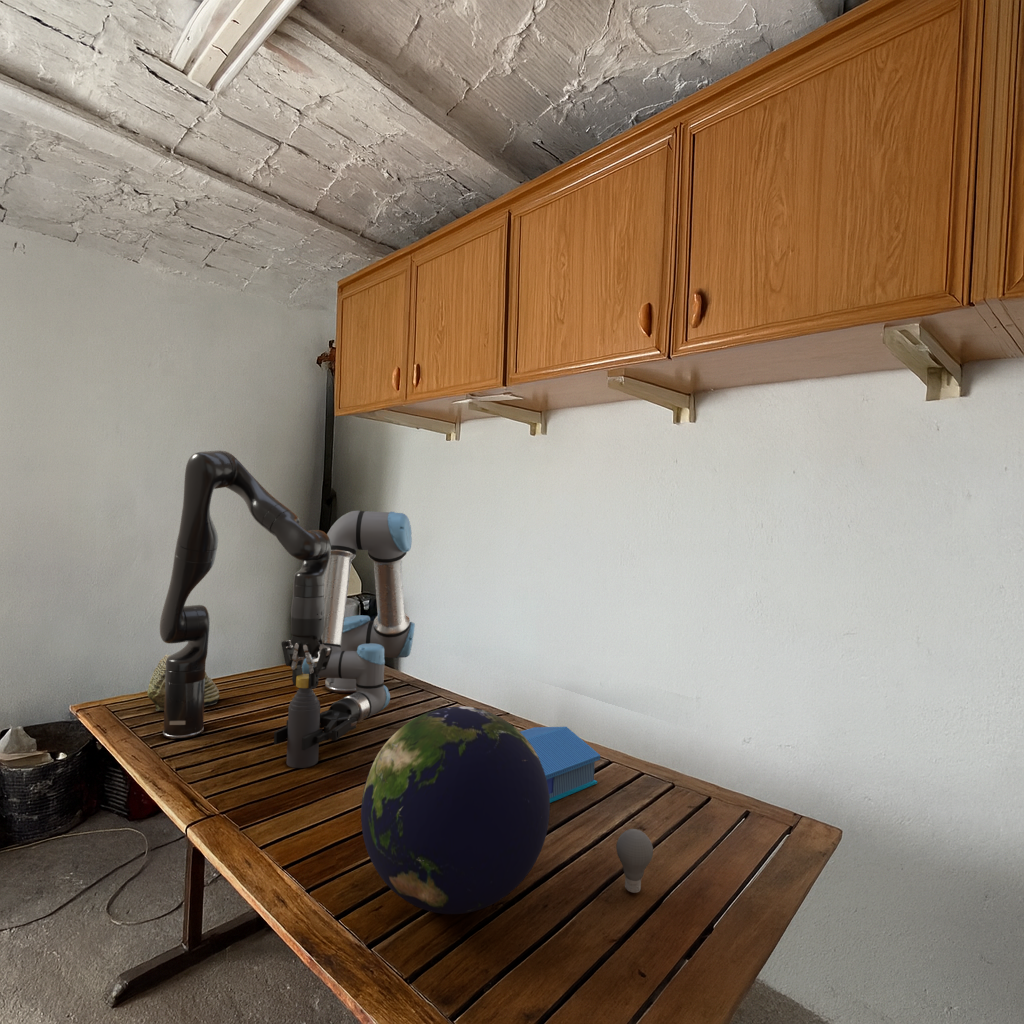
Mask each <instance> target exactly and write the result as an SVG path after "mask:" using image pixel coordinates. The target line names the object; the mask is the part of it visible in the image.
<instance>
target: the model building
mask: <svg viewBox="0 0 1024 1024" xmlns="http://www.w3.org/2000/svg"><path fill="white" fill-rule="evenodd" d="M519 732H520V733H521V734H522V735H523V736H524V737H525V738H526V739H527V740H528V742H529V743H530V744H531V745H532V747H533V749H534V750H535V752H536V754H537V755H538V757H539V759H540V762H541V765H542V767H543V770H544V773H545V776H546V780H547V784H548V789H549V798H550V804H551V803H554V802H556V801H558V800H561V799H563V798H566V797H568V796H572V794H576V793H578V792H581V791H583V790H585V789H587V788H590V787H592V786H594V785H597V784H598V781H597V780H596V779H595V763H596V762H598V761H600V760H601V754H600V753H599V752H598V751H596V750H595V749H594V748H593V747H591V746H590V745H589V744H588V743H587V742H586V741H584V740H583V739H582V738H580V737H579V736H578V735H577V734H576V733H574V731H572V730H571V729H570V728H569V727H568V726H536V727H535V726H534V727H531V728H528V729H524V730H521V731H519Z"/></svg>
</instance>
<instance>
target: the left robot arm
mask: <svg viewBox="0 0 1024 1024" xmlns="http://www.w3.org/2000/svg"><path fill="white" fill-rule="evenodd" d="M184 470H185V472H184V484H183V485H184V486H183V500H182V509H181V516H180V523H179V530H178V535H177V539H176V544H175V550H174V556H173V563H172V570H171V576H170V581H169V586H168V589H167V594H166V596H165V600H164V603H163V608H162V611H161V615H160V619H159V620H160V621H159V636H160V638H161V641H163V642H164V644H180V643H181V644H182V643H186V644H185V646H184V647H183V648H181V649H180V650H178V651H176V652H174V653H172V654H170V655H171V656H169V657H168V658H167V660H166V674H165V705H164V710H163V731H162V737H164V738H166V739H169V740H185V739H190V738H191V739H192V738H194V737H197V736H199V735H202V734H203V732H204V730H205V729H204V726H205V725H204V722H205V721H204V718H205V706H204V693H205V672H206V664H207V663H206V662H207V658H208V650H209V649H208V648H209V638H210V637H209V636H210V629H211V627H210V626H211V625H210V624H211V621H210V613H209V610H208V608H207V607H206V606H205V605H203V604H192V605H191V604H190V605H186V602H187V600H188V598H189V596H190V594H191V593H192V591H193V590H194V589H195V588H196V587H197V585H199V583H200V582H202V580H204V578H205V577H206V575H208V573H209V572H210V571H211V570H212V568H213V566H214V564H215V561H216V556H217V551H218V546H219V545H218V544H219V536H218V532H217V529H216V526H215V524H214V521H213V519H212V515H211V502H212V498H213V497H212V496H213V493H214V491H215V490H217V489H224V488H227V490H230V491H232V492H233V493H235V494H236V495H238V496H239V497H240V498H242V500H243V501H244V503H245V504H246V506H247V509H248V511H249V513H250V515H251V516H252V518H253V520H254V521H256V522H257V523H258V524H259V525H260V526H261V527H262V528H263V529H265V530H266V531H267V532H269V533H270V534H271V535H272V536H273V537H275V538H276V540H277V541H278V542H279V544H280V545H281V546H282V548H283V549H284V550H285V551H286V552H287V553H288V554H289V555H290V556H291V557H292V558H295V559H296V560H298V561H302V564H301V567H300V569H299V570H298V571H296V572H295V573H294V576H293V583H292V585H293V588H292V601H291V607H290V609H291V610H290V635H291V639H287V640H283V641H281V648H282V653H283V658H284V663H285V666H287V667H289V668H291V670H292V672H291V673H292V677H291V681H292V684H293V686H296V677H297V676H298V675H301V674H303V672H302V665H303V661H304V659H305V658H306V662H307V664H308V665H309V670H310V673H309V689H312V690H314V689H316V688H317V687H318V686H319V679H320V678H319V672H320V671H322V670H325V669H326V668H327V665H328V662H329V659H330V656H331V653H332V647H331V646H329V647H327V646H325V645H324V644H323V641H322V634H323V632H324V611H325V603H324V577H325V574H326V571H327V567H328V563H329V559H330V554H331V543H330V539H329V537H328V535H327V533H326V532H325V531H323V530H321V529H310V530H307V529H306V528H304V527H302V525H301V524H300V518H299V517H298V516H297V514H296V513H294V512H293V511H292V510H291V509H289V508H288V507H287V506H285V505H284V504H283V503H282V502H281V501H279V500H278V499H277V498H276V497H274V496H273V495H272V494H271V493H270V492H268V491H267V490H266V488H265V487H263V486H262V484H261V483H259V481H258V480H257V479H256V478H255V477H254V476H253V475H252V474H251V473H250V471H249V470H248V469H246V467H245V466H244V465H243V464H242V462H240V461H239V460H238V458H237V457H236V456H235V455H233V454H232V453H230V452H229V451H226V450H208V451H198V452H195V453H193V454H191V456H190V457H189V458H188V460H187V463H186V465H185V469H184ZM319 650H320V652H319ZM312 657H314V659H312ZM314 664H315V667H314Z"/></svg>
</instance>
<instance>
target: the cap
mask: <svg viewBox="0 0 1024 1024" xmlns="http://www.w3.org/2000/svg"><path fill="white" fill-rule="evenodd" d="M296 688H298V689H299V688H309V674H303V673H302V674H301V675H298V676H297V677H296Z"/></svg>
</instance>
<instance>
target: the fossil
mask: <svg viewBox="0 0 1024 1024" xmlns="http://www.w3.org/2000/svg"><path fill="white" fill-rule="evenodd" d="M171 655H172V654H165V655H164V656H163V657H162V658H161V659H160V660H159V662H158V663H157V666H156V667H155V669H154V670H153V672H152V675H151V677H150V680H149V684H148V688H147V697H148V699H149V700H150V701H152V703H153V704H154V706H155V711H158V712H159V711H162V712H163V711H164V705H165V674H166V660H167V658H168V657H169V656H171ZM220 698H221V696H220V690H219V688H218V686H217V685H216V683H215V682H214V681H213V679H212V678H211V677H209V675H208V674H207V672H206V671H205V693H204V707H207V706H213V705H215V704H217V703H218V701H219V699H220Z"/></svg>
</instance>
